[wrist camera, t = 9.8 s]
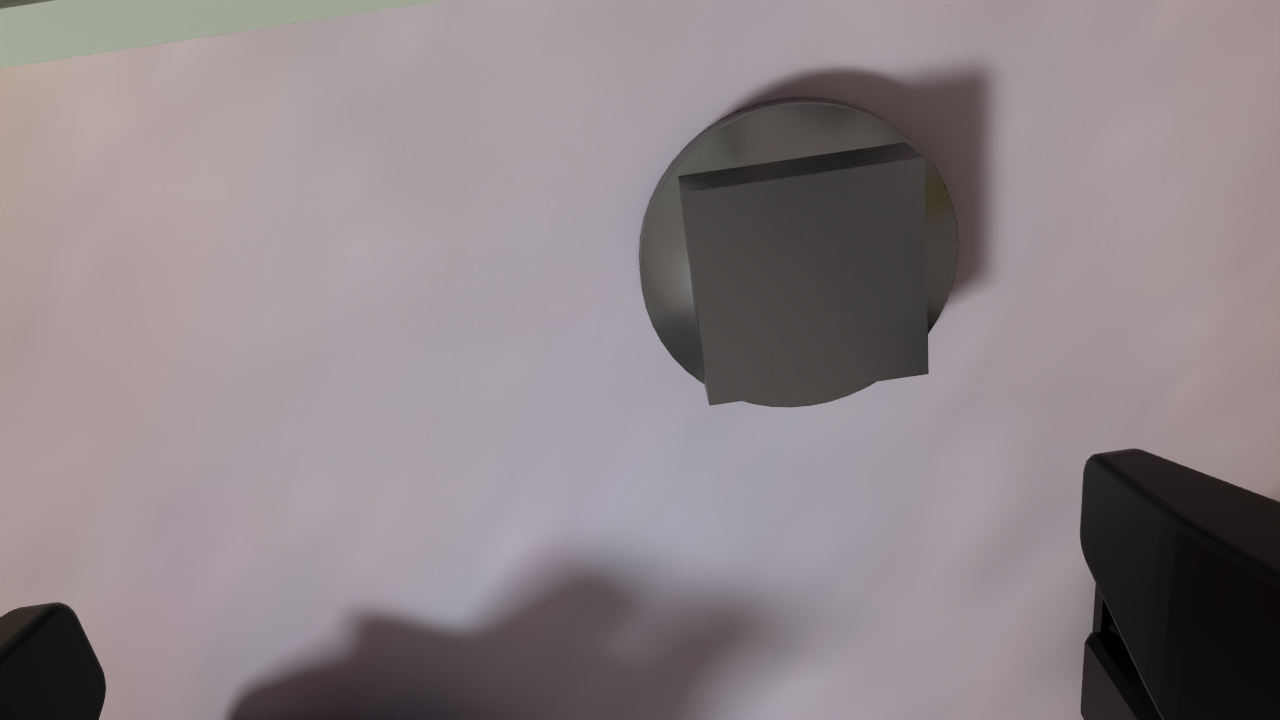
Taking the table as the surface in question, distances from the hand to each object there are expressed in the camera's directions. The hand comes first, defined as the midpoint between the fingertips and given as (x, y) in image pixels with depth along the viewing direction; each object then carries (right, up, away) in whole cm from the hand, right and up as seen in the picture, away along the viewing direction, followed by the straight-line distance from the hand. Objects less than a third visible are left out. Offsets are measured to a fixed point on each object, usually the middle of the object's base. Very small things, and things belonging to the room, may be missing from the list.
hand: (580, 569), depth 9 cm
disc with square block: (+4, +4, +12) cm, 13 cm away
